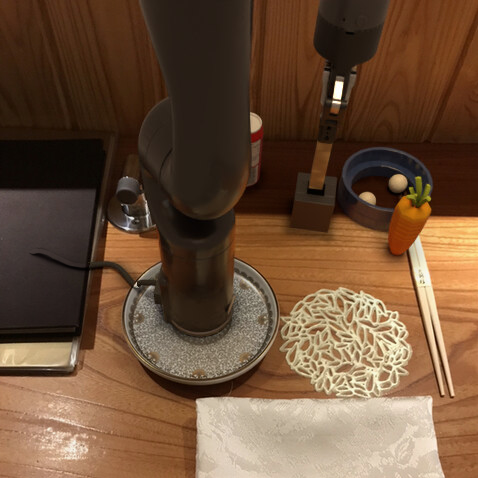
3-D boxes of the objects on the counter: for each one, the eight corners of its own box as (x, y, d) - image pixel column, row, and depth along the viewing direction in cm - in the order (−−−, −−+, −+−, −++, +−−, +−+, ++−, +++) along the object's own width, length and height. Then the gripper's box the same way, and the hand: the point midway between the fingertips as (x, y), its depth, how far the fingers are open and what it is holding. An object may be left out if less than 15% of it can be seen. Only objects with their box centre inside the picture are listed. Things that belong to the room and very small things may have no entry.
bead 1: (354, 213, 91) (358, 200, 88) (355, 200, 92) (359, 186, 90) (373, 216, 91) (377, 202, 88) (373, 202, 92) (378, 189, 90)
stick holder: (289, 231, 89) (294, 200, 83) (293, 204, 92) (298, 172, 87) (326, 236, 89) (334, 205, 83) (329, 209, 92) (337, 177, 86)
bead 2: (386, 195, 93) (391, 182, 90) (386, 182, 95) (391, 169, 92) (404, 198, 93) (409, 184, 90) (404, 185, 94) (409, 171, 92)
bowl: (333, 228, 90) (339, 204, 85) (339, 167, 97) (345, 141, 93) (422, 241, 89) (433, 217, 84) (421, 178, 97) (431, 153, 92)
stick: (308, 188, 84) (324, 107, 72) (309, 178, 85) (325, 98, 73) (322, 189, 83) (340, 109, 72) (323, 180, 84) (340, 100, 73)
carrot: (409, 270, 86) (442, 200, 73) (377, 264, 86) (404, 194, 74) (411, 245, 89) (443, 174, 76) (379, 240, 89) (406, 168, 76)
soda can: (242, 163, 97) (245, 104, 87) (265, 179, 95) (271, 121, 85) (220, 179, 95) (220, 120, 85) (243, 196, 93) (246, 138, 83)
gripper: (323, -28, 66) (303, 100, 80) (313, 38, 58) (293, 166, 73) (387, -21, 65) (355, 107, 80) (386, 48, 58) (351, 174, 73)
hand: (326, 135), depth 76 cm, fingers closed on stick, 2 cm apart
